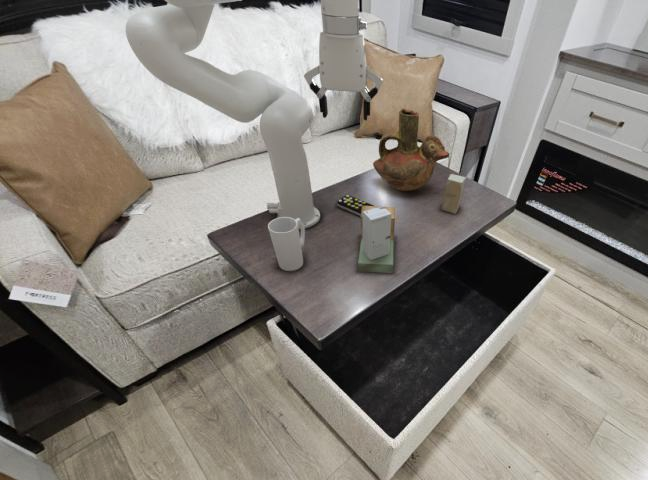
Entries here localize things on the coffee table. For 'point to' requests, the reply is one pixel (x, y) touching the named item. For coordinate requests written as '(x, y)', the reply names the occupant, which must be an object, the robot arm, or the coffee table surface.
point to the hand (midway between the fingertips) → (345, 117)
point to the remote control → (352, 204)
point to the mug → (287, 242)
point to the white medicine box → (376, 232)
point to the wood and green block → (381, 263)
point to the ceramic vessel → (408, 155)
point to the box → (453, 193)
